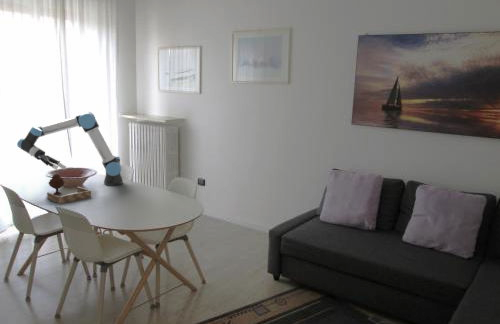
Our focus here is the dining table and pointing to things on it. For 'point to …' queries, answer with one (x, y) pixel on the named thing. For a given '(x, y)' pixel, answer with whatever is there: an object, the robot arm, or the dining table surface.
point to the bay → (70, 196)
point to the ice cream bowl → (56, 183)
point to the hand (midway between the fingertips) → (61, 168)
